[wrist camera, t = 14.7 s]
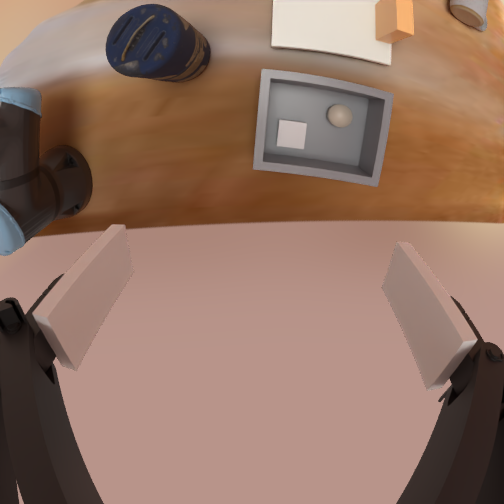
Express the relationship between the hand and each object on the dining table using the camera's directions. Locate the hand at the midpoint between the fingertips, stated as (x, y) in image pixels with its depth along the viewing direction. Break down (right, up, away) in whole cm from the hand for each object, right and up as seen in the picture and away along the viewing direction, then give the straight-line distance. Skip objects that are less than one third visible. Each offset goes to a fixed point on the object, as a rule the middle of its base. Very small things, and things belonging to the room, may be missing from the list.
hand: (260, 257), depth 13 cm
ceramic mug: (+40, +46, +11) cm, 62 cm away
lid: (+12, +37, +18) cm, 43 cm away
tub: (+10, +21, +27) cm, 36 cm away
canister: (-11, +31, +23) cm, 40 cm away
